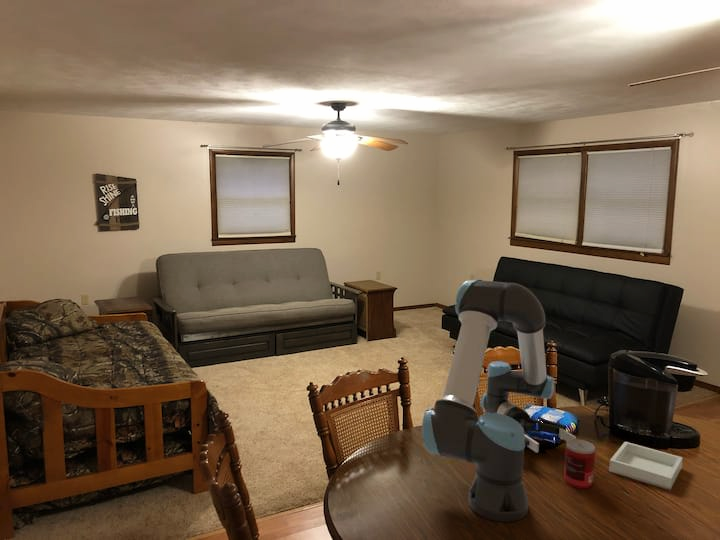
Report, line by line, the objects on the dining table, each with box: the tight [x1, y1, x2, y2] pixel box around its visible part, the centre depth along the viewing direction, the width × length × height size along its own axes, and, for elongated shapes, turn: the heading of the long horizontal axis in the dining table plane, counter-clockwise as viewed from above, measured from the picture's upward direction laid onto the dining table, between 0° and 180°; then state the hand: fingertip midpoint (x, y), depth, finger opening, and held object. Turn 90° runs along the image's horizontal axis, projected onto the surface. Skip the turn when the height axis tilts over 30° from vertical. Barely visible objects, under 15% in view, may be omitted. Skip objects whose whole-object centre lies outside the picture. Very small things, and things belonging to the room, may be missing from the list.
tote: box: [608, 441, 684, 491], centre depth 162 cm, size 16×16×4 cm
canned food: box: [563, 438, 596, 489], centre depth 155 cm, size 8×8×11 cm
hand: (556, 444), depth 164 cm, fingers open, 13 cm apart
